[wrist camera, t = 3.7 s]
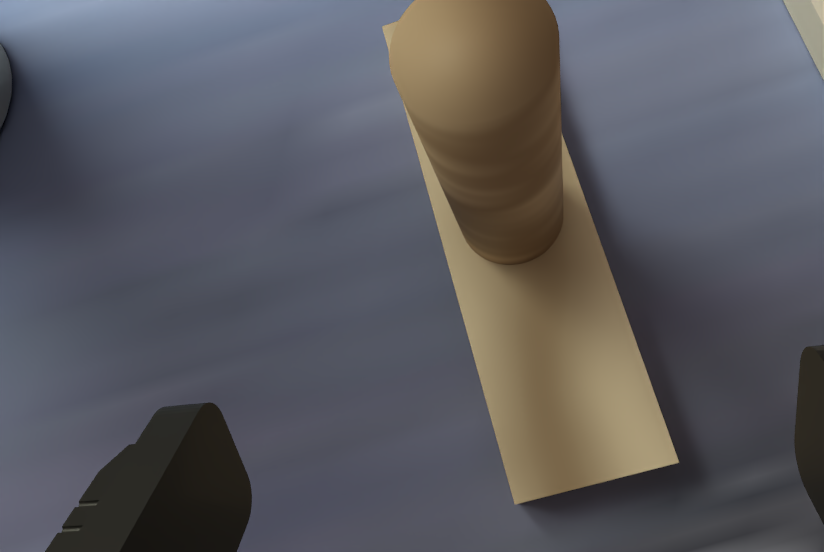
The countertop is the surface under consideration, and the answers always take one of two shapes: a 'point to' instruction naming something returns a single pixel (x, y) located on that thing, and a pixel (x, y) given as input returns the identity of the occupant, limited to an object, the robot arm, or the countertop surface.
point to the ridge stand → (810, 26)
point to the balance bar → (524, 246)
